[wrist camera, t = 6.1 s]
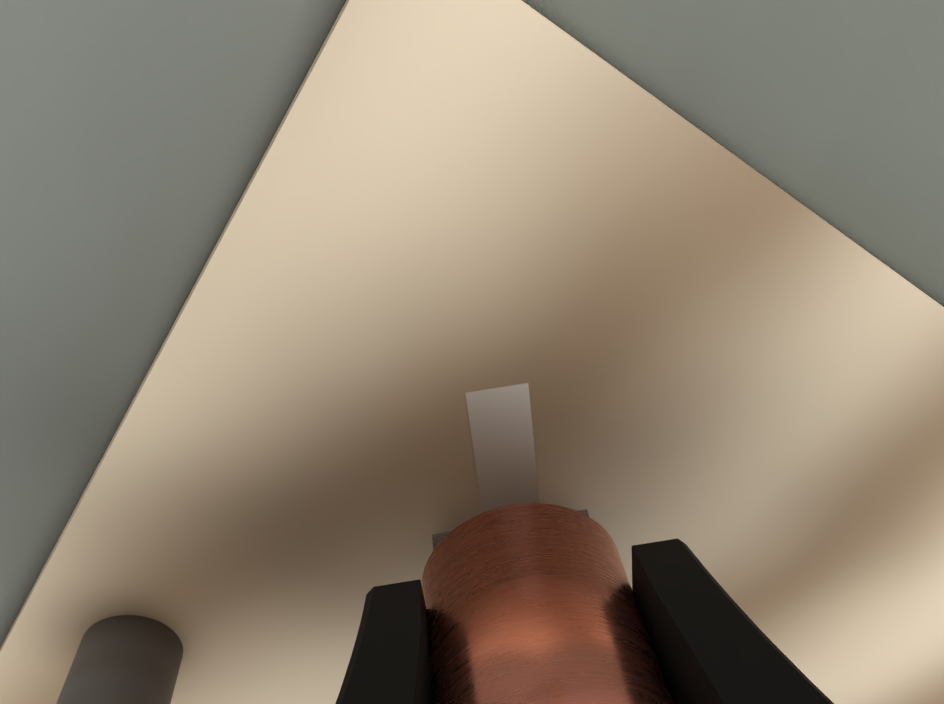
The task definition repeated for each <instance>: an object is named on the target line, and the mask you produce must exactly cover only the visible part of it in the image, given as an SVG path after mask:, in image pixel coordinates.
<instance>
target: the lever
mask: <svg viewBox="0 0 944 704" xmlns="http://www.w3.org/2000/svg"><path fill="white" fill-rule="evenodd" d="M432 542H433V552H432V553H431V555H430V557H429V558H428V561H427V563H426V565H425V568H424V571H423V576H422V590H423V595H424V600H425V604H426V609H427V624H428V639H429V654H430V669H431V704H673V702H672V699H671V696H670V693H669V691H668V688H667V685H666V682H665V680H664V677H663V674H662V671H661V669H660V666H659V663H658V660H657V658H656V655H655V652H654V649H653V646H652V644H651V641H650V638H649V635H648V633H647V630H646V627H645V624H644V622H643V619H642V616H641V613H640V611H639V608H638V605H637V602H636V600H635V597H634V594H633V591H632V588H631V586H630V583H629V580H628V577H627V575H626V572H625V569H624V566H623V564H622V561H621V558H620V555H619V553H618V550H617V547H616V545H615V543H614V541H613V539H612V537H611V536H610V535H609V534H608V532H607V531H606V530H605V529H604V528H603V527H602V526H601V525H600V524H599V523H598V522H596V521H595V520H593V519H592V518H590V517H589V514H588V511H587V509H585V510H579V511H576V510H573V509H570V508H567V507H563V506H558V505H554V504H544V503H524V504H515V505H509V506H504V507H500V508H496V509H493V510H490V511H487V512H484V513H482V514H479V515H477V516H475V517H473V518H471V519H469V520H467V521H466V522H464V523H462V524H461V525H459V526H458V527H456V528H455V529H454V530H452V531H450V532H444V533H438V534H432Z"/></svg>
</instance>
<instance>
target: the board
mask: <svg viewBox="0 0 944 704" xmlns="http://www.w3.org/2000/svg"><path fill="white" fill-rule="evenodd" d="M524 503H544V504H554V505H558V506H563V507H567V508H570V509H573V510H576V511H579V510H585V509H587V511H588V514H589V517H590V518H592V519H593V520H595V521H596V522H598V523H599V524H600V525H601V526H602V527H603V528H604V529H605V530H606V531H607V532H608V534H609V535H610V536H611V537H612V539H613V541H614V543H615V545H616V547H617V550H618V553H619V555H620V558H621V561H622V564H623V566H624V569H625V572H626V575H627V577H628V580H629V583H630V586H631V588H632V546H633V545H639V544H645V543H652V542H658V541H664V540H671V539H677V538H678V539H679V540H681V541H682V542H684V543H685V544H686V545H687V546H688V547H689V548H690V550H691V551H692V552H693V553H694V555H695V556H696V557H697V558H698V559H699V561H700V562H701V563H702V564H703V565H704V567H705V568H706V569H707V570H708V571H709V573H710V574H711V575H712V576H713V577H714V578H715V580H716V581H717V582H718V583H719V584H720V585H721V586H722V588H723V589H724V590H725V591H726V592H727V593H728V594H729V596H730V597H731V598H732V599H733V600H734V601H735V602H736V603H737V604H738V606H739V607H740V608H741V609H742V610H743V611H744V612H745V613H746V614H747V615H748V617H749V618H750V619H751V620H752V621H753V622H754V623H755V624H756V625H757V626H758V627H759V628H760V630H761V631H762V632H763V633H764V634H765V635H766V636H767V637H768V638H769V639H770V640H771V641H772V642H773V643H774V644H775V645H776V646H777V647H778V648H779V649H780V650H781V651H782V652H783V653H784V654H785V655H786V656H787V657H788V658H789V659H790V660H791V661H792V662H793V663H794V664H795V665H796V666H797V667H798V669H799V670H800V671H801V672H802V673H803V674H804V675H805V676H806V677H807V678H808V679H809V680H810V681H811V682H812V683H813V684H814V685H815V686H817V687H818V688H819V689H820V690H821V691H822V692H823V693H824V694H825V695H826V696H827V697H828V698H829V699H830V700H831V701H832V702H833V703H834V704H944V307H943V306H942V305H940V304H939V303H938V302H936V301H935V300H934V299H932V298H931V297H929V296H928V295H927V294H925V293H924V292H923V291H921V290H920V289H918V288H917V287H916V286H914V285H913V284H912V283H910V282H909V281H907V280H906V279H905V278H903V277H902V276H901V275H899V274H898V273H896V272H895V271H894V270H892V269H891V268H890V267H888V266H887V265H885V264H884V263H883V262H881V261H880V260H879V259H877V258H876V257H874V256H873V255H872V254H870V253H869V252H868V251H866V250H865V249H863V248H862V247H861V246H859V245H858V244H857V243H855V242H854V241H852V240H851V239H850V238H848V237H847V236H846V235H844V234H843V233H841V232H840V231H839V230H837V229H836V228H835V227H833V226H832V225H830V224H829V223H828V222H826V221H825V220H824V219H822V218H821V217H819V216H818V215H817V214H815V213H814V212H813V211H811V210H810V209H808V208H807V207H806V206H804V205H803V204H802V203H800V202H799V201H797V200H796V199H795V198H793V197H792V196H791V195H789V194H788V193H786V192H785V191H784V190H782V189H781V188H780V187H778V186H777V185H775V184H774V183H773V182H771V181H770V180H769V179H767V178H766V177H764V176H763V175H762V174H760V173H759V172H758V171H756V170H755V169H753V168H752V167H751V166H749V165H748V164H747V163H745V162H744V161H742V160H741V159H740V158H738V157H737V156H736V155H734V154H733V153H731V152H730V151H729V150H727V149H726V148H725V147H723V146H722V145H720V144H719V143H718V142H716V141H715V140H714V139H712V138H711V137H709V136H708V135H707V134H705V133H704V132H703V131H701V130H700V129H698V128H697V127H696V126H694V125H693V124H692V123H690V122H689V121H687V120H686V119H685V118H683V117H682V116H681V115H679V114H678V113H676V112H675V111H674V110H672V109H671V108H670V107H668V106H667V105H665V104H664V103H663V102H661V101H660V100H659V99H657V98H656V97H654V96H653V95H652V94H650V93H649V92H648V91H646V90H645V89H643V88H642V87H641V86H639V85H638V84H637V83H635V82H634V81H632V80H631V79H630V78H628V77H627V76H626V75H624V74H623V73H621V72H620V71H619V70H617V69H616V68H615V67H613V66H612V65H610V64H609V63H608V62H606V61H605V60H604V59H602V58H601V57H599V56H598V55H597V54H595V53H594V52H593V51H591V50H590V49H588V48H587V47H586V46H584V45H583V44H582V43H580V42H579V41H577V40H576V39H575V38H573V37H572V36H571V35H569V34H568V33H566V32H565V31H564V30H562V29H561V28H560V27H558V26H557V25H555V24H554V23H553V22H551V21H550V20H549V19H547V18H546V17H544V16H543V15H542V14H540V13H539V12H538V11H536V10H535V9H533V8H532V7H531V6H529V5H528V4H527V3H525V2H524V1H522V0H346V2H345V4H344V6H343V8H342V10H341V11H340V13H339V15H338V17H337V19H336V21H335V23H334V24H333V26H332V28H331V30H330V32H329V34H328V36H327V38H326V39H325V41H324V43H323V45H322V47H321V49H320V51H319V53H318V54H317V56H316V58H315V60H314V62H313V64H312V66H311V68H310V69H309V71H308V73H307V75H306V77H305V79H304V81H303V82H302V84H301V86H300V88H299V90H298V92H297V94H296V96H295V97H294V99H293V101H292V103H291V105H290V107H289V109H288V111H287V112H286V114H285V116H284V118H283V120H282V122H281V124H280V126H279V127H278V129H277V131H276V133H275V135H274V137H273V139H272V140H271V142H270V144H269V146H268V148H267V150H266V152H265V154H264V155H263V157H262V159H261V161H260V163H259V165H258V167H257V169H256V170H255V172H254V174H253V176H252V178H251V180H250V182H249V184H248V185H247V187H246V189H245V191H244V193H243V195H242V197H241V198H240V200H239V202H238V204H237V206H236V208H235V210H234V212H233V213H232V215H231V217H230V219H229V221H228V223H227V225H226V227H225V228H224V230H223V232H222V234H221V236H220V238H219V240H218V242H217V243H216V245H215V247H214V249H213V251H212V253H211V255H210V256H209V258H208V260H207V262H206V264H205V266H204V268H203V270H202V271H201V273H200V275H199V277H198V279H197V281H196V283H195V285H194V286H193V288H192V290H191V292H190V294H189V296H188V298H187V300H186V301H185V303H184V305H183V307H182V309H181V311H180V313H179V314H178V316H177V318H176V320H175V322H174V324H173V326H172V328H171V329H170V331H169V333H168V335H167V337H166V339H165V341H164V343H163V344H162V346H161V348H160V350H159V352H158V354H157V356H156V357H155V359H154V361H153V363H152V365H151V367H150V369H149V371H148V372H147V374H146V376H145V378H144V380H143V382H142V384H141V386H140V387H139V389H138V391H137V393H136V395H135V397H134V399H133V401H132V402H131V404H130V406H129V408H128V410H127V412H126V414H125V415H124V417H123V419H122V421H121V423H120V425H119V427H118V429H117V430H116V432H115V434H114V436H113V438H112V440H111V442H110V444H109V445H108V447H107V449H106V451H105V453H104V455H103V457H102V459H101V460H100V462H99V464H98V466H97V468H96V470H95V472H94V473H93V475H92V477H91V479H90V481H89V483H88V485H87V487H86V488H85V490H84V492H83V494H82V496H81V498H80V500H79V502H78V503H77V505H76V507H75V509H74V511H73V513H72V515H71V517H70V518H69V520H68V522H67V524H66V526H65V528H64V530H63V531H62V533H61V535H60V537H59V539H58V541H57V543H56V545H55V546H54V548H53V550H52V552H51V554H50V556H49V558H48V560H47V561H46V563H45V565H44V567H43V569H42V571H41V573H40V575H39V576H38V578H37V580H36V582H35V584H34V586H33V588H32V589H31V591H30V593H29V595H28V597H27V599H26V601H25V603H24V604H23V606H22V608H21V610H20V612H19V614H18V616H17V618H16V619H15V621H14V623H13V625H12V627H11V629H10V631H9V633H8V634H7V636H6V638H5V640H4V642H3V644H2V646H1V647H0V704H335V703H336V701H337V698H338V695H339V692H340V689H341V686H342V683H343V680H344V677H345V674H346V671H347V667H348V664H349V661H350V658H351V655H352V651H353V648H354V644H355V641H356V637H357V633H358V630H359V626H360V622H361V618H362V613H363V609H364V604H365V599H366V594H367V593H368V592H369V591H370V590H371V589H372V588H373V587H375V586H381V585H388V584H394V583H400V582H406V581H413V580H419V579H420V580H421V585H422V576H423V571H424V568H425V565H426V563H427V561H428V558H429V557H430V555H431V553H432V552H433V542H432V534H438V533H444V532H450V531H452V530H454V529H455V528H456V527H458V526H459V525H461V524H462V523H464V522H466V521H467V520H469V519H471V518H473V517H475V516H477V515H479V514H482V513H484V512H487V511H490V510H493V509H496V508H500V507H504V506H509V505H515V504H524Z"/></svg>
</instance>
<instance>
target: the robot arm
mask: <svg viewBox="0 0 944 704" xmlns="http://www.w3.org/2000/svg"><path fill="white" fill-rule="evenodd" d="M632 591H633V594H634V597H635V600H636V602H637V605H638V608H639V611H640V613H641V616H642V619H643V622H644V624H645V627H646V630H647V633H648V635H649V638H650V641H651V644H652V646H653V649H654V652H655V655H656V658H657V660H658V663H659V666H660V669H661V671H662V674H663V677H664V680H665V682H666V685H667V688H668V691H669V693H670V696H671V699H672V702H673V704H834V703H833V702H832V701H831V700H830V699H829V698H828V697H827V696H826V695H825V694H824V693H823V692H822V691H821V690H820V689H819V688H818V687H817V686H815V685H814V684H813V683H812V682H811V681H810V680H809V679H808V678H807V677H806V676H805V675H804V674H803V673H802V672H801V671H800V670H799V669H798V667H797V666H796V665H795V664H794V663H793V662H792V661H791V660H790V659H789V658H788V657H787V656H786V655H785V654H784V653H783V652H782V651H781V650H780V649H779V648H778V647H777V646H776V645H775V644H774V643H773V642H772V641H771V640H770V639H769V638H768V637H767V636H766V635H765V634H764V633H763V632H762V631H761V630H760V628H759V627H758V626H757V625H756V624H755V623H754V622H753V621H752V620H751V619H750V618H749V617H748V615H747V614H746V613H745V612H744V611H743V610H742V609H741V608H740V607H739V606H738V604H737V603H736V602H735V601H734V600H733V599H732V598H731V597H730V596H729V594H728V593H727V592H726V591H725V590H724V589H723V588H722V586H721V585H720V584H719V583H718V582H717V581H716V580H715V578H714V577H713V576H712V575H711V574H710V573H709V571H708V570H707V569H706V568H705V567H704V565H703V564H702V563H701V562H700V561H699V559H698V558H697V557H696V556H695V555H694V553H693V552H692V551H691V550H690V548H689V547H688V546H687V545H686V544H685V543H684V542H682V541H681V540H679V539H678V538H677V539H671V540H664V541H658V542H652V543H645V544H639V545H633V546H632ZM335 704H431V669H430V654H429V639H428V624H427V609H426V604H425V600H424V595H423V590H422V585H421V580H420V579H419V580H413V581H406V582H400V583H394V584H388V585H381V586H375V587H373V588H372V589H371V590H370V591H369V592H368V593H367V594H366V599H365V604H364V609H363V613H362V618H361V622H360V626H359V630H358V633H357V637H356V641H355V644H354V648H353V651H352V655H351V658H350V661H349V664H348V667H347V671H346V674H345V677H344V680H343V683H342V686H341V689H340V692H339V695H338V698H337V701H336V703H335Z"/></svg>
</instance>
